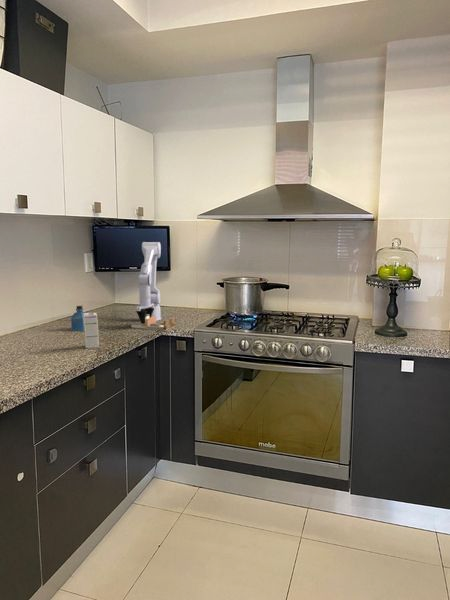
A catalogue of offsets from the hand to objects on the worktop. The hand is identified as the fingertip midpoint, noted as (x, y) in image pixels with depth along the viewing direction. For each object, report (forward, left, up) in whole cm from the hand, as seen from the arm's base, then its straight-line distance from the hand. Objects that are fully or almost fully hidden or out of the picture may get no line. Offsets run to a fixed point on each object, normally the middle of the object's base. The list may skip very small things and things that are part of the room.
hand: (145, 322), depth 240 cm
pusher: (0, +5, -2) cm, 5 cm away
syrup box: (+46, 0, -2) cm, 46 cm away
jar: (0, -1, -2) cm, 2 cm away
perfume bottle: (+19, -27, -2) cm, 33 cm away
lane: (0, +5, -2) cm, 5 cm away
